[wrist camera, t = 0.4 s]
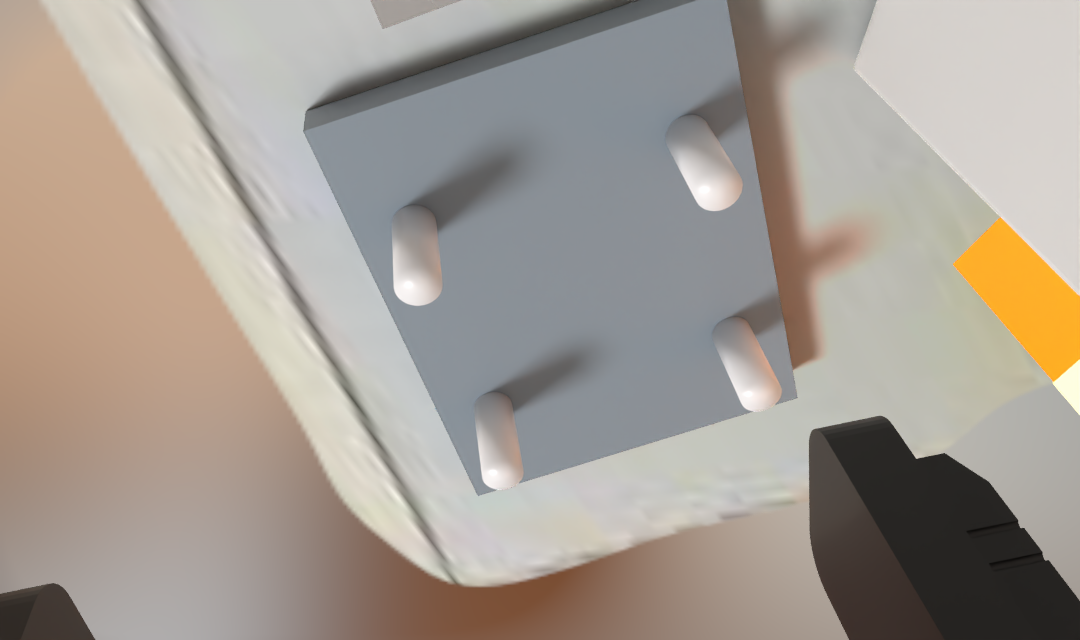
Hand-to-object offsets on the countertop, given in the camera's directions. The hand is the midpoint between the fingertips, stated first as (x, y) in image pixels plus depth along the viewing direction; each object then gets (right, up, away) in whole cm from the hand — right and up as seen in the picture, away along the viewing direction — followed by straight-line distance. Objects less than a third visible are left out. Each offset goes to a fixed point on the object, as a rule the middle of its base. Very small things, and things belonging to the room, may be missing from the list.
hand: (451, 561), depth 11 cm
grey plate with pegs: (+2, +4, +19) cm, 20 cm away
